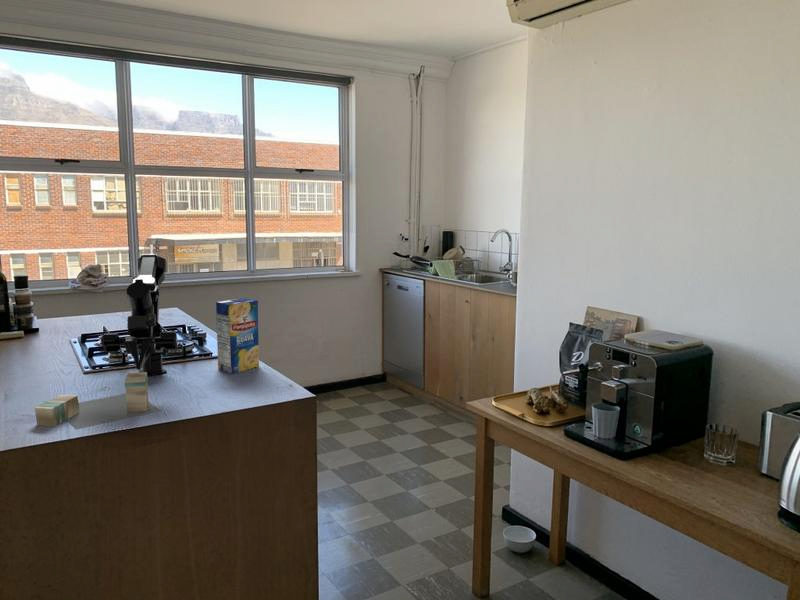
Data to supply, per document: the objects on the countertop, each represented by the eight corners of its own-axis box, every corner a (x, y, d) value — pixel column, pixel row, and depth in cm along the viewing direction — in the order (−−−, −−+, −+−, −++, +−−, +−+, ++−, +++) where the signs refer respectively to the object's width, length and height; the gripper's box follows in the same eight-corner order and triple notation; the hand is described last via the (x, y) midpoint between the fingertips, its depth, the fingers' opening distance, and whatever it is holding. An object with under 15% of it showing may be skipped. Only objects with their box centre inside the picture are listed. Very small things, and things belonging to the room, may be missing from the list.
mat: (55, 408, 156) (54, 407, 156) (134, 392, 169) (134, 391, 169) (76, 430, 142) (75, 429, 142) (160, 411, 156) (160, 410, 156)
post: (129, 406, 158) (127, 373, 157) (148, 404, 159) (147, 371, 158) (126, 412, 154) (124, 378, 152) (146, 410, 155) (144, 377, 153)
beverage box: (217, 369, 193) (215, 302, 189) (246, 362, 201) (244, 297, 198) (231, 374, 189) (229, 304, 185) (259, 366, 197) (257, 300, 193)
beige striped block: (61, 394, 152) (34, 407, 144) (77, 395, 152) (51, 408, 143) (63, 411, 153) (36, 425, 145) (79, 412, 153) (54, 427, 144)
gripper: (100, 304, 159) (93, 355, 151) (175, 302, 164) (173, 351, 156) (107, 327, 168) (102, 376, 160) (178, 324, 173) (177, 372, 165)
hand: (138, 368), depth 160 cm, fingers closed
